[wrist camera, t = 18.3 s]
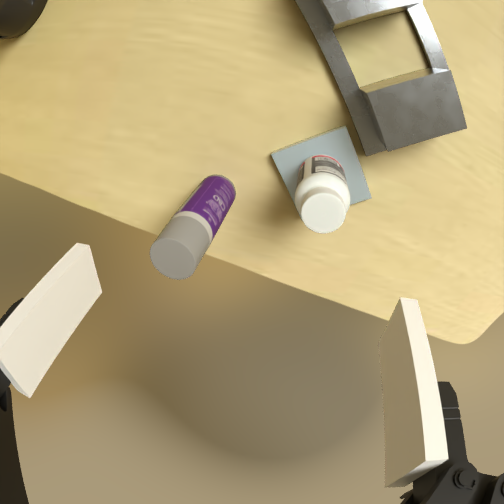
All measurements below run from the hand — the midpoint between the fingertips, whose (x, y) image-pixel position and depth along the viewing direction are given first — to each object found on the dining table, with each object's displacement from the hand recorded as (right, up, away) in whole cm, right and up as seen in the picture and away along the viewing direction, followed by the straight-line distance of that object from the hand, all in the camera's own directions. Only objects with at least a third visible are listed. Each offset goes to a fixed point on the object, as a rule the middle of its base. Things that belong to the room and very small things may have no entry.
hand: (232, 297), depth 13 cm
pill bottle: (+9, +11, +23) cm, 27 cm away
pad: (+9, +11, +23) cm, 27 cm away
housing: (+15, +23, +14) cm, 31 cm away
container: (-4, +9, +27) cm, 29 cm away
